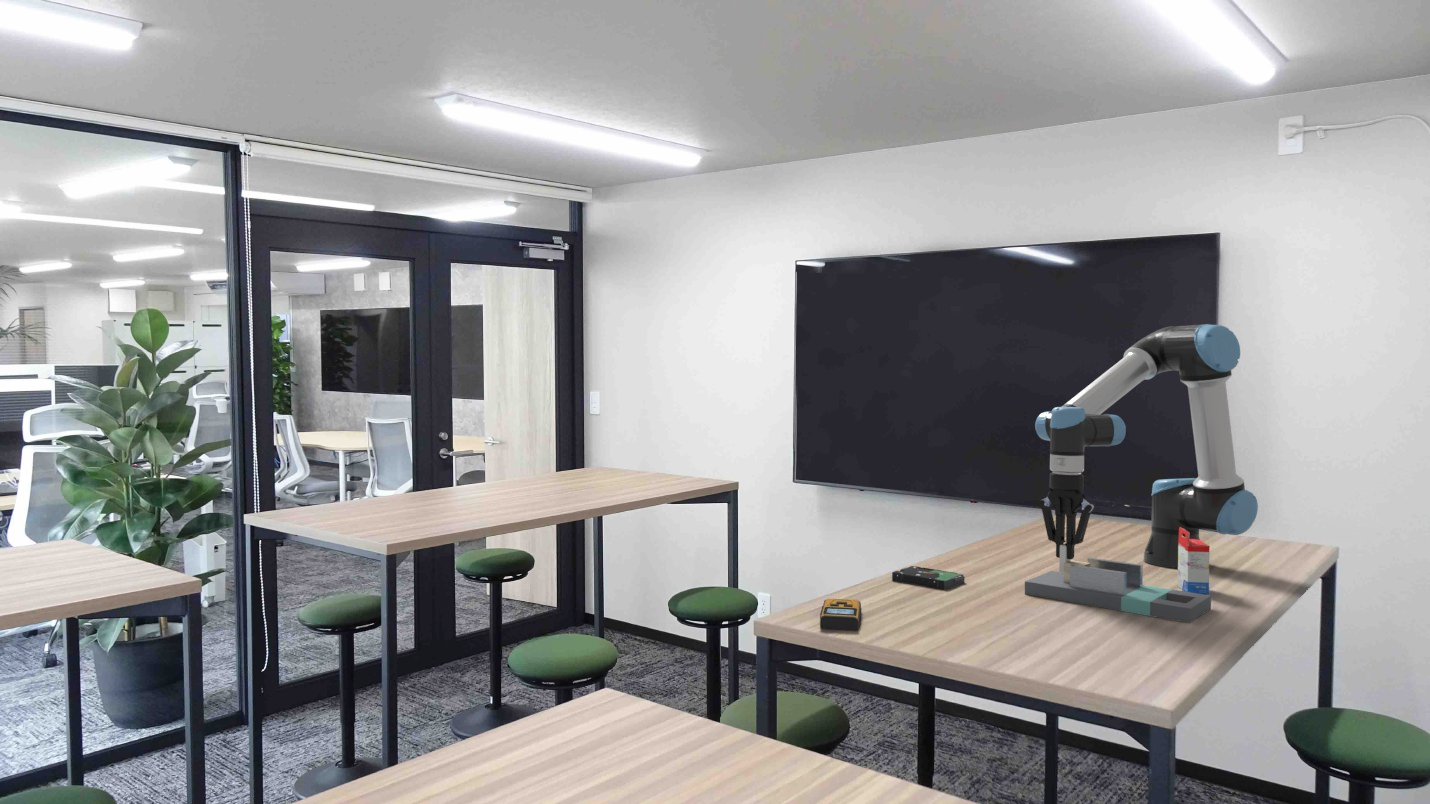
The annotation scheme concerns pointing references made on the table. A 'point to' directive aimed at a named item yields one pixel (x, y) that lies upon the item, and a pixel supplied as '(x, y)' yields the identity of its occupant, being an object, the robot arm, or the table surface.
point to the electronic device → (840, 614)
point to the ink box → (1193, 564)
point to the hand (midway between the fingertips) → (1064, 572)
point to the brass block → (1067, 568)
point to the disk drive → (928, 577)
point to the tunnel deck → (1118, 591)
